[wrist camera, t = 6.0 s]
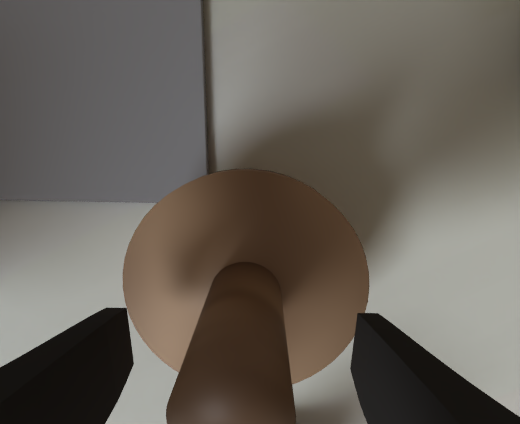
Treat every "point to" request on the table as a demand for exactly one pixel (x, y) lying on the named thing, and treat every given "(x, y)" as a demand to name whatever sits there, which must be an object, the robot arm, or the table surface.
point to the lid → (244, 293)
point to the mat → (101, 99)
